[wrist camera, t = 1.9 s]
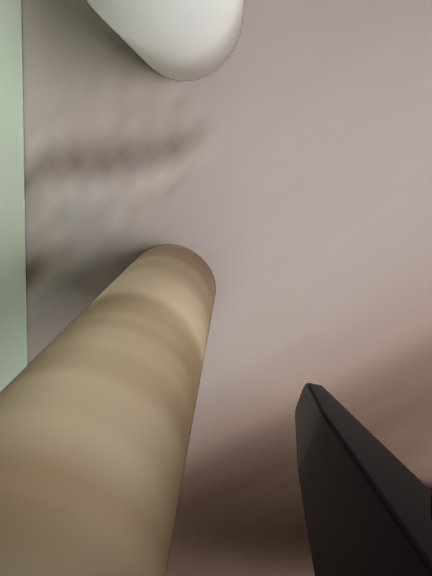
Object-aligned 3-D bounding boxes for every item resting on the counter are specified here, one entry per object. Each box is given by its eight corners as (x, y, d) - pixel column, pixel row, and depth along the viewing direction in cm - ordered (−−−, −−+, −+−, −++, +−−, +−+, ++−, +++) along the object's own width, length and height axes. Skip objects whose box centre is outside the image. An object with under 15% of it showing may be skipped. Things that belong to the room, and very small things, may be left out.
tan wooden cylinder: (206, 335, 14) (140, 682, 5) (123, 317, 14) (-106, 632, 5) (224, 255, 13) (181, 524, 3) (132, 235, 13) (-165, 452, 3)
